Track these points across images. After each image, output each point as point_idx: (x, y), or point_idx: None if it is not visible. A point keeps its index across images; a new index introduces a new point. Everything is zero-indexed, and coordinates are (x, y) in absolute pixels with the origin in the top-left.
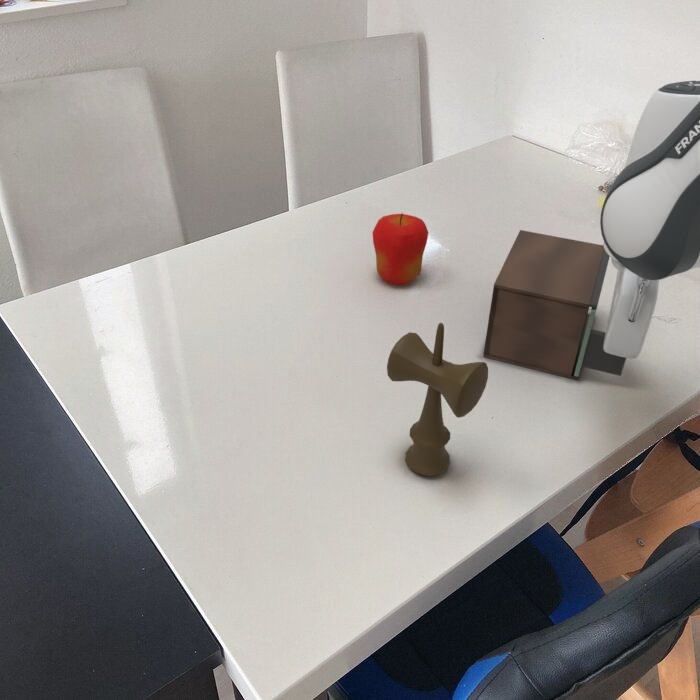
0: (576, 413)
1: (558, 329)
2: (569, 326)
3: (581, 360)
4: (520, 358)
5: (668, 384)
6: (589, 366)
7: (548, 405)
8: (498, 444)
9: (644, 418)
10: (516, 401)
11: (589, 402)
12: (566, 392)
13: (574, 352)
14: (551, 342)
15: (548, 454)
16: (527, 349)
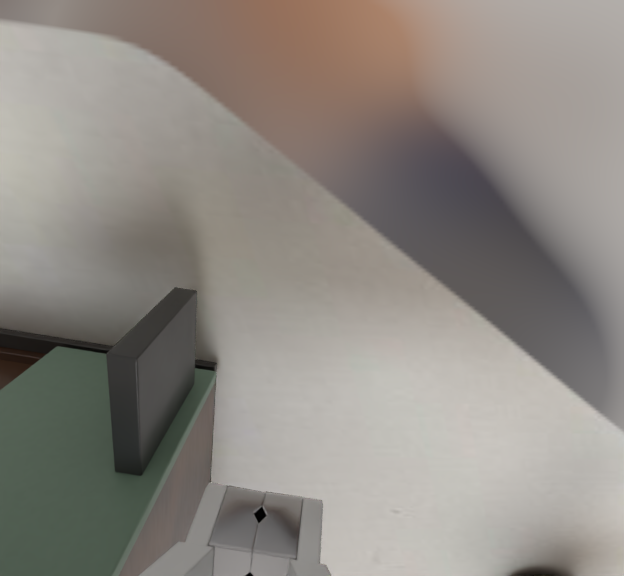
0: (342, 368)
1: (158, 544)
2: (148, 544)
3: (198, 409)
4: (204, 489)
5: (137, 125)
6: (192, 370)
7: (329, 420)
8: (473, 502)
9: (318, 210)
10: (333, 475)
11: (292, 339)
12: (271, 385)
13: (186, 440)
14: (179, 504)
15: (492, 423)
16: (194, 508)
